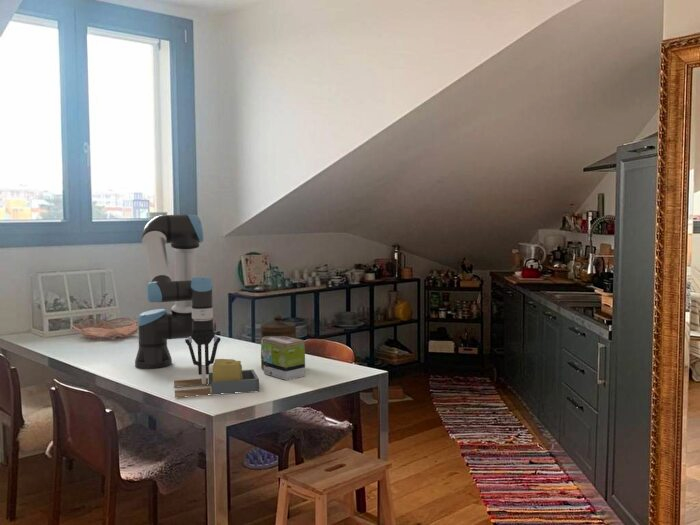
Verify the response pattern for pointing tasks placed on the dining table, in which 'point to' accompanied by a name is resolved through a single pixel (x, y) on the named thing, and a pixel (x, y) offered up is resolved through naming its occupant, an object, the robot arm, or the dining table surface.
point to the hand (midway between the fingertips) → (203, 383)
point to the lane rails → (191, 391)
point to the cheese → (227, 370)
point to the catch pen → (236, 383)
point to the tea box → (284, 357)
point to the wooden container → (276, 331)
